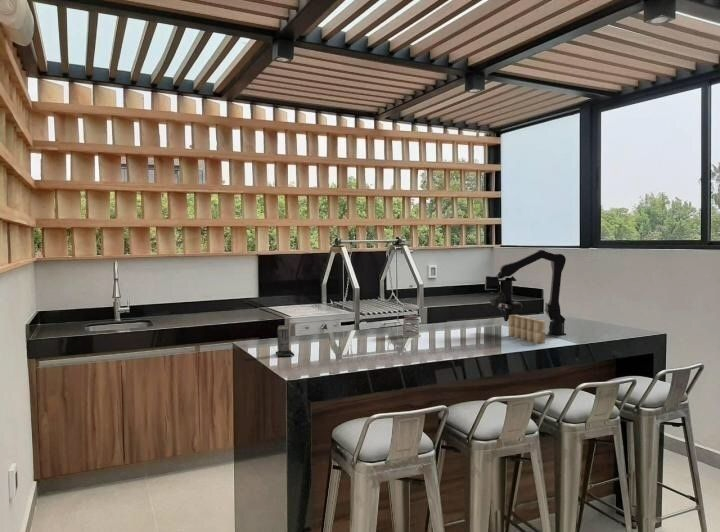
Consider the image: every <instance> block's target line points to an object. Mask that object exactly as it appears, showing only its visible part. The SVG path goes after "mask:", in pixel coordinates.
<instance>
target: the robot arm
mask: <svg viewBox="0 0 720 532" xmlns="http://www.w3.org/2000/svg"><path fill="white" fill-rule="evenodd" d="M541 259H544V260H546V261H550V266H551V272H552V274H551V283H550V292H549V293H550V294H549V295H550V296H549V301H548V302H545V307H544V312H545V315H546V316H547V317H548V318H549V320H550V321H549V324H548V332H547V334H549V335H553V336H566V335H567V333H566V332H565V321H566V318H565V317H564V316H563V315H562V313H561V305H560V294H561V292H560V291H561V280H562V273H563V270H564V267H565V264H566V261H567V259H566V256H565V255H564V254H562V253H552V252H549V251H545V250H543V249H538V250H537V251H535V252H534V253H531V254H529V255H527V256H525V257H523V258H520V259H519V260H516V261H513V262H509V263H506V264H503V265H501V266H500V269H499V272H498V273H497V274H496V276H489V275H486V276H485V282H484V290H485V291H489V290H490V291H493V290H494V291H497V290H498V289H499V288H500V290H499V291H498V293H497V295H495V296H492V297H490V298H489V303H490V305H491V306H494V307H495V306H497V308H498V309H499V310H500V311H501V314H502V316H503V320H504V322H509V315H512V313H513V311H514V310H519V309H520V310H521V309H523V304H522V303H521V302H520V301H519V302H518V301H514V300H513V295H515V291H513V282H517V279H516V278H515V277H514V276H513V275H514V274H515V273H516V272H518V271H519V270H520V269H522V268H524V267H527V266H529V265H530V264H532V263H534V262H536V261H539V260H541Z"/></svg>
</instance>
